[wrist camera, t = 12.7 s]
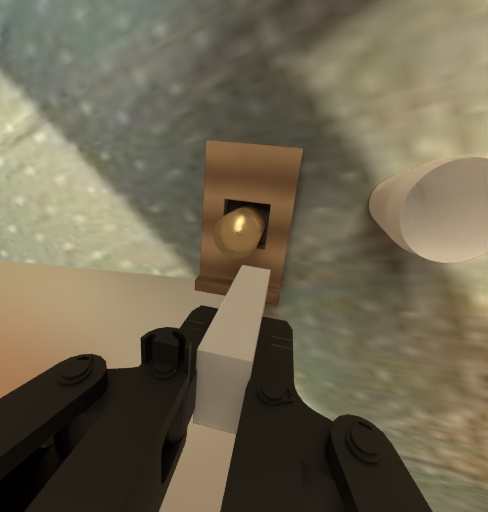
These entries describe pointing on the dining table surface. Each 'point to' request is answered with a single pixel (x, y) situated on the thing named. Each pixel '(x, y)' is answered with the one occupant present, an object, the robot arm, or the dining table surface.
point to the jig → (252, 190)
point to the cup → (436, 209)
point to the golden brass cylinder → (240, 231)
